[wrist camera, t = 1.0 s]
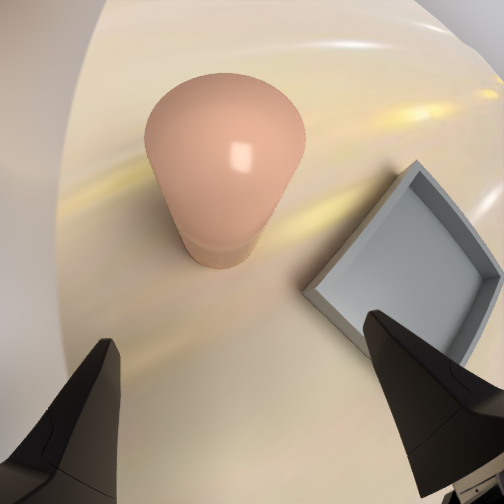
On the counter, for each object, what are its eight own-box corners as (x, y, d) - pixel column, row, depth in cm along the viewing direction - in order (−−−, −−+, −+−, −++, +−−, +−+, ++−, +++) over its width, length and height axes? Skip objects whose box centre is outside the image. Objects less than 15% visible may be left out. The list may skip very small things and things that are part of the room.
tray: (484, 280, 26) (505, 275, 23) (414, 403, 23) (436, 410, 19) (398, 174, 27) (416, 159, 24) (301, 292, 24) (314, 288, 20)
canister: (272, 231, 24) (335, 135, 11) (220, 285, 23) (224, 239, 9) (220, 183, 25) (227, 55, 11) (167, 231, 23) (114, 131, 10)
